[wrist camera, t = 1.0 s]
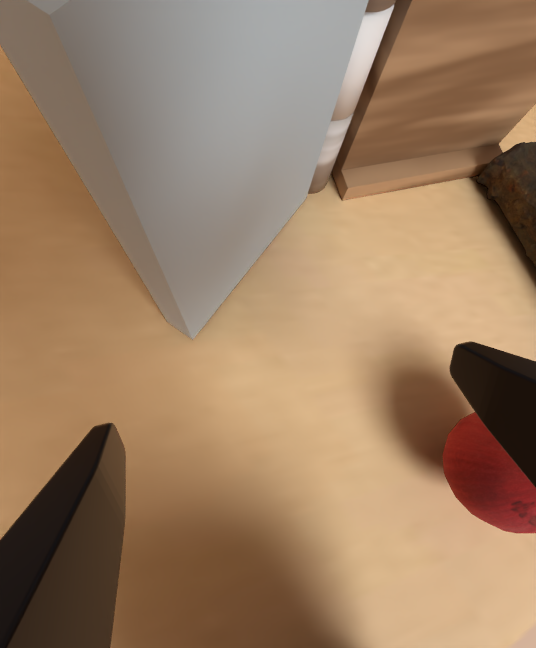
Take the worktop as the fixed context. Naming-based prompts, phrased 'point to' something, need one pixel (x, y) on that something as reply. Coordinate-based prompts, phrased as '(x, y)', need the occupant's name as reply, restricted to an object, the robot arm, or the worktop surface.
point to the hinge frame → (434, 96)
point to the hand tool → (515, 191)
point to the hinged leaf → (193, 121)
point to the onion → (488, 478)
